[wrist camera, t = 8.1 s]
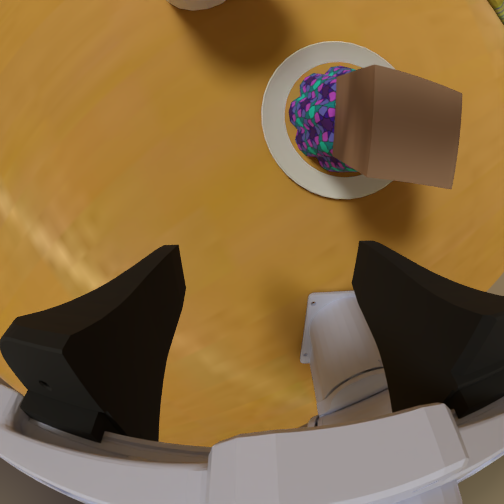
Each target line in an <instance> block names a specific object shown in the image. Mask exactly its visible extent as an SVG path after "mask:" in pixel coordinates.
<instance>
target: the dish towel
mask: <svg viewBox="0 0 504 504" xmlns="http://www.w3.org/2000/svg"><path fill="white" fill-rule="evenodd" d="M487 1H488V2H489V4H490V5H491V6H492V7H493V9H494V10H495V12H496V14H497V15H498V17H499V18H500V20H501V21H502V23H503V24H504V0H487Z"/></svg>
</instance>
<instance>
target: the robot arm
mask: <svg viewBox="0 0 504 504" xmlns="http://www.w3.org/2000/svg"><path fill="white" fill-rule="evenodd" d="M352 285H353V289H354V291H338V292H319V293H311V294H310V295H309V296H308V302H307V310H306V318H305V326H304V333H303V341H302V348H301V354H300V362H301V363H310V368H311V373H312V379H313V384H314V390H315V395H316V401H317V409H318V415H316V416H313V417H312V418H311V419H310V420H309V423H308V426H307V427H306V428H295V429H280V430H270V431H262V432H254V433H245V434H239V435H237V436H234V437H231V438H228V439H226V440H223V441H220V442H218V443H216V444H215V445H213V446H212V447H201V446H189V445H179V444H171V443H163V442H158V439H159V417H160V404H161V395H162V387H163V379H164V373H165V367H166V361H167V357H168V353H169V349H170V346H171V343H172V339H173V336H174V333H175V330H176V327H177V324H178V321H179V317H180V314H181V311H182V307H183V302H184V296H185V290H186V285H185V280H184V274H183V269H182V263H181V257H180V251H179V245H164V246H162V247H160V248H158V249H157V250H155V251H154V252H152V253H151V254H149V255H148V256H147V257H145V258H144V259H142V260H141V261H140V262H138V263H137V264H135V265H134V266H133V267H131V268H130V269H128V270H127V271H125V272H124V273H122V274H121V275H119V276H118V277H116V278H115V279H113V280H111V281H110V282H108V283H106V284H105V285H103V286H101V287H99V288H97V289H95V290H93V291H91V292H89V293H87V294H85V295H83V296H81V297H78V298H76V299H74V300H72V301H69V302H67V303H64V304H62V305H59V306H56V307H53V308H50V309H47V310H44V311H40V312H36V313H32V314H28V315H24V316H20V317H17V318H16V319H15V320H14V321H13V322H12V324H11V325H10V326H9V328H8V329H7V331H6V332H5V333H4V335H3V336H2V338H1V339H0V350H1V353H2V355H3V357H4V359H5V361H6V362H7V364H8V365H9V367H10V368H11V369H12V371H13V372H14V373H15V375H16V376H17V377H18V378H19V380H20V381H21V382H22V383H23V385H24V386H25V387H26V388H27V389H28V391H27V393H26V395H25V397H24V396H23V395H22V394H21V393H19V392H18V391H16V390H14V389H11V388H9V387H7V386H5V385H3V384H0V457H1V458H2V459H4V460H5V461H7V462H8V463H9V464H11V465H12V466H14V467H15V468H17V469H18V470H20V471H22V472H23V473H25V474H27V475H28V476H30V477H32V478H34V479H35V480H37V481H39V482H41V483H43V484H45V485H46V486H48V487H50V488H52V489H55V490H56V491H58V492H60V493H63V494H65V495H67V496H69V497H71V498H74V499H76V500H78V501H81V502H83V503H86V504H463V503H462V498H461V495H460V491H459V487H458V484H457V483H459V482H461V481H462V480H465V479H466V478H468V477H470V476H472V475H473V474H475V473H476V472H478V471H480V470H481V469H483V468H485V467H486V466H488V465H489V464H491V463H492V462H494V461H495V460H497V459H498V458H500V457H501V456H502V455H504V296H499V295H495V294H491V293H487V292H483V291H480V290H476V289H473V288H470V287H467V286H464V285H462V284H459V283H456V282H454V281H451V280H449V279H447V278H444V277H442V276H440V275H438V274H435V273H433V272H431V271H429V270H428V269H426V268H424V267H422V266H420V265H418V264H416V263H414V262H413V261H411V260H409V259H407V258H406V257H404V256H402V255H400V254H399V253H397V252H395V251H393V250H391V249H390V248H388V247H386V246H384V245H382V244H380V243H378V242H375V241H359V247H358V253H357V258H356V264H355V269H354V274H353V280H352ZM312 302H315V303H313V304H312ZM305 353H306V354H305Z"/></svg>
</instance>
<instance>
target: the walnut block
mask: <svg viewBox="0 0 504 504" xmlns="http://www.w3.org/2000/svg"><path fill="white" fill-rule="evenodd" d="M461 112H462V93H460V92H457V91H455V90H453V89H450V88H448V87H445V86H443V85H440V84H437V83H435V82H432V81H429V80H426V79H424V78H421V77H418V76H414V75H411V74H408V73H405V72H401V71H398V70H395V69H391V68H387V67H383V66H379V65H375V64H374V65H371V66H368V67H365V68H361V69H358V70H355V71H352V72H349V73H347V74H344V75H341V76H338V77H336V106H335V125H334V140H333V153H332V156H333V157H335V158H337V159H338V160H340V161H342V162H343V163H345V164H347V165H348V166H350V167H351V168H353V169H355V170H356V171H358V172H359V173H361V174H362V175H364V176H366V177H368V178H377V179H386V180H394V181H401V182H408V183H415V184H422V185H428V186H434V187H440V188H446V189H452V184H453V179H454V173H455V167H456V160H457V153H458V145H459V137H460V126H461Z"/></svg>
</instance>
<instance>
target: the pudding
mask: <svg viewBox="0 0 504 504" xmlns="http://www.w3.org/2000/svg"><path fill="white" fill-rule="evenodd" d="M329 62H345V63H351V64H354V65H357V66H360V67H362V68H365V67H368V66H371V65H374V64H375V65H379V66H383V67H387V68H391V69H394V68H393V67H392V66H391V64H390V63H388V62H387V61H386V60H385V59H383V58H382V57H381V56H379V55H378V54H376V53H374V52H373V51H371V50H369V49H367V48H365V47H362V46H359V45H356V44H353V43H347V42H340V41H329V42H321V43H316V44H312V45H309V46H307V47H304V48H302V49H300V50H298V51H296V52H295V53H293V54H292V55H290V56H289V57H288V58H286V59H285V60H284V61H283V62H282V63H281V64H280V66H279V67H278V68H277V69H276V70H275V72H274V73H273V75H272V77H271V78H270V80H269V82H268V85H267V87H266V90H265V93H264V97H263V103H262V109H261V111H262V127H263V132H264V137H265V140H266V143H267V145H268V148H269V150H270V152H271V154H272V156H273V157H274V159H275V161H276V162H277V164H278V165H279V166H280V168H281V169H282V170H283V171H284V172H285V173H286V175H287V176H289V177H290V178H291V179H292V180H293V181H295V182H296V183H297V184H298V185H300V186H302V187H303V188H305V189H307V190H308V191H310V192H313V193H315V194H318V195H321V196H324V197H329V198H334V199H354V198H360V197H364V196H367V195H370V194H373V193H375V192H377V191H379V190H381V189H382V188H384V187H386V186H387V185H388V184H389V183H391V182H392V181H393V180H386V179H377V178H368V177H366V176H364V175H359V176H354V177H336V176H331V175H327V174H325V173H322V172H320V171H318V170H316V169H315V168H313V167H311V166H310V165H309V164H308V163H306V162H305V161H304V160H303V159H302V158H301V157H300V155H299V154H298V153H297V152H296V150H295V149H294V147H293V145H292V144H291V142H290V139H289V137H288V134H287V131H286V126H285V105H286V100H287V97H288V95H289V92H290V90H291V88H292V87H293V85H294V83H295V82H296V81H297V80H298V79H299V78H300V77H301V75H303V74H304V73H305V72H307V71H308V70H309V69H311V68H313V67H316V66H318V65H320V64H324V63H329ZM352 71H355V70H354V69H351V68H347V67H343V66H336V67H331V68H330V69H329V70H328V71H327V72H326V74H325V75H324V74H315V73H313V74H311V75H310V76H308V77H306V78H305V79H304V80H303V82H302V83H301V85H300V97H298V98H297V99H295V100H294V101H293V102H292V103H291V106H290V109H289V117H290V122H291V123H292V124H293V125H294V126H295V127H296V128H297V129H298V130H297V135H296V139H295V140H296V143H297V145H298V147H299V149H300V150H301V151H302V152H303V153H304V154H305V155H306V156H311V157H317V159H318V161H319V163H320V165H321V167H323V168H324V169H326V170H328V171H332V172H358V171H356V170H355V169H353V168H351V167H350V166H348V165H347V164H345V163H343V162H342V161H340V160H338V159H337V158H335V157H333V156H332V153H333V140H334V125H335V106H336V77H338V76H341V75H344V74H347V73H349V72H352Z"/></svg>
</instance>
